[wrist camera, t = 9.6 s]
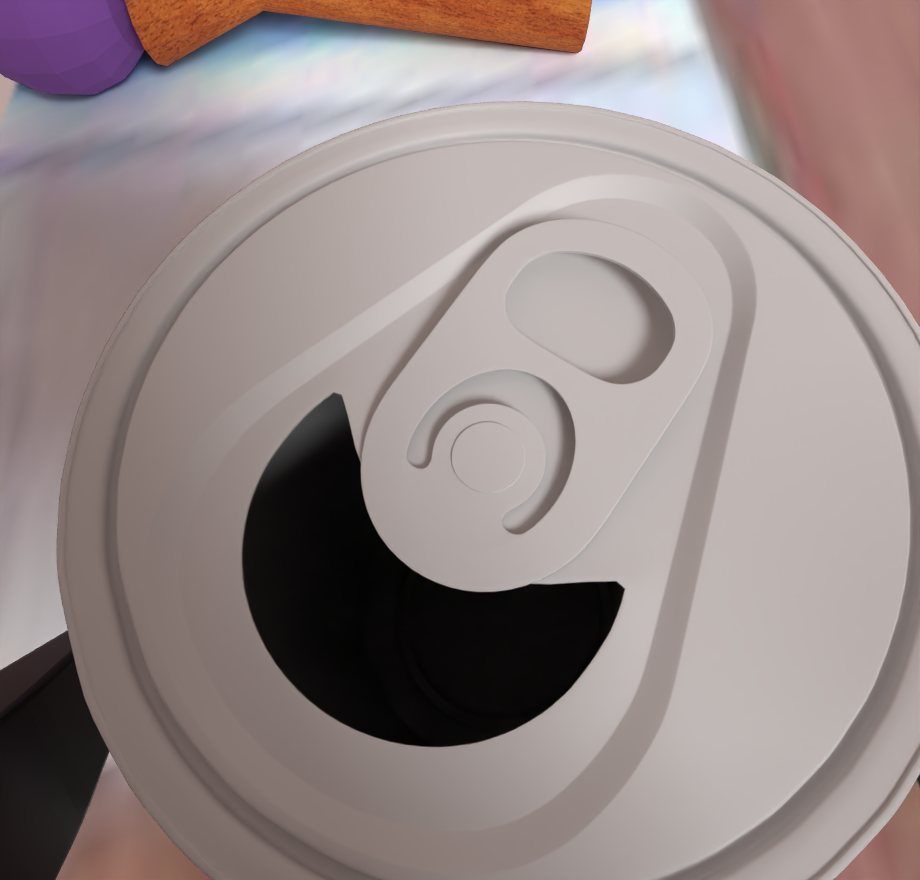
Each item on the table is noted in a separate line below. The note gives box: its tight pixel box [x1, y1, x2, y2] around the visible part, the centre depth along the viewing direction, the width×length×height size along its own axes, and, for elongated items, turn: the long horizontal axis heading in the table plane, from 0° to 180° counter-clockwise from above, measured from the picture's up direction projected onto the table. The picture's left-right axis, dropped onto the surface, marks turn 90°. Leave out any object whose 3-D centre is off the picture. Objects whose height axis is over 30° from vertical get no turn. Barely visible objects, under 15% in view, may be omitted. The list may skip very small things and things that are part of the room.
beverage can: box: [57, 101, 920, 880], centre depth 10 cm, size 6×6×12 cm
